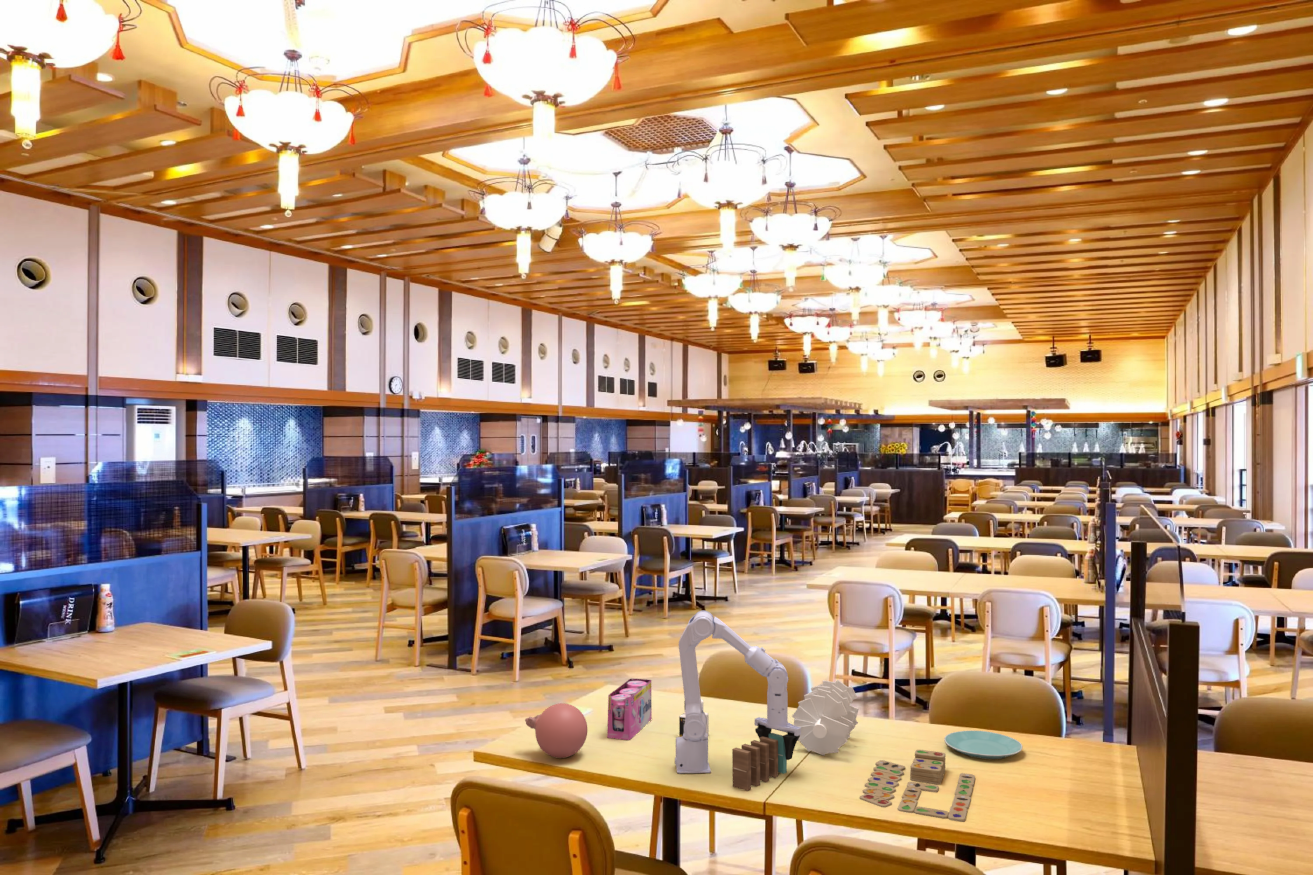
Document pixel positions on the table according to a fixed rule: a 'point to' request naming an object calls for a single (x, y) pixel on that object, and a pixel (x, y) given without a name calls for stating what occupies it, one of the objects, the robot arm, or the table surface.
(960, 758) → the table surface
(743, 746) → the walnut domino
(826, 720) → the spiral staircase
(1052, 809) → the table surface
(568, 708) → the pink water balloon
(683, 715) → the medicine bottle
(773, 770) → the walnut domino
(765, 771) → the walnut domino
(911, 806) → the pile of dominoes
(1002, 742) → the plate
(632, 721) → the gum box
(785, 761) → the teal domino
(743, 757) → the walnut domino
